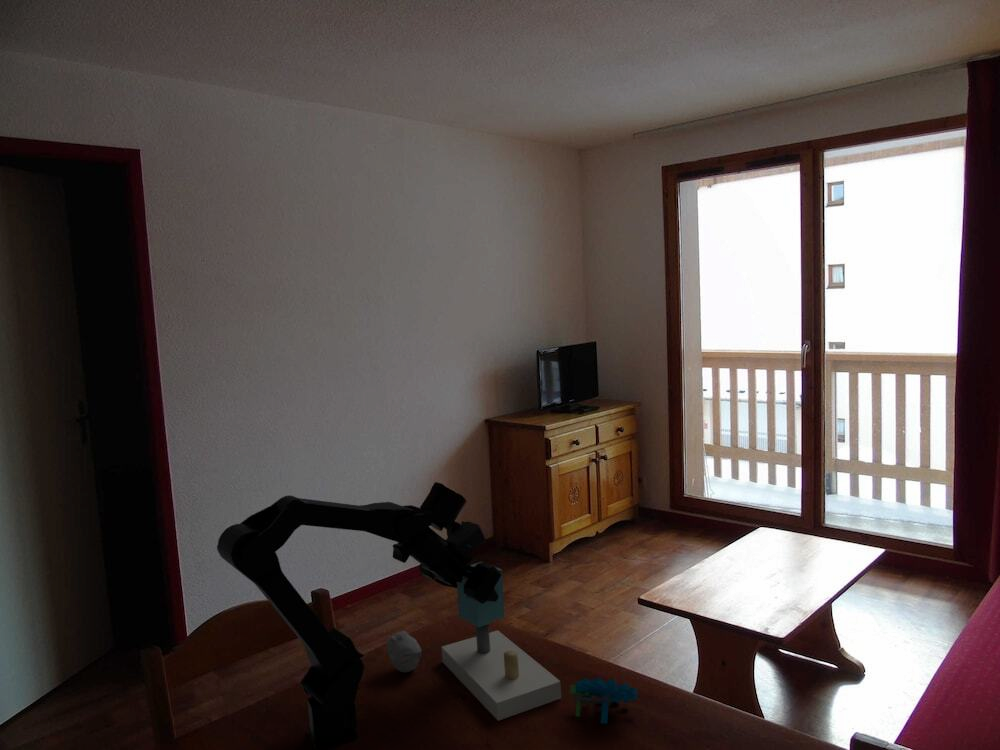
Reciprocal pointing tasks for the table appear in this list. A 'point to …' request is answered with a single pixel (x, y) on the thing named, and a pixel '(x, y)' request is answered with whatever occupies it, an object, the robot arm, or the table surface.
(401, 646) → the grey rounded lump
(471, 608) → the collar
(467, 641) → the board
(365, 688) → the table surface
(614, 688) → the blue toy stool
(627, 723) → the table surface
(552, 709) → the table surface
